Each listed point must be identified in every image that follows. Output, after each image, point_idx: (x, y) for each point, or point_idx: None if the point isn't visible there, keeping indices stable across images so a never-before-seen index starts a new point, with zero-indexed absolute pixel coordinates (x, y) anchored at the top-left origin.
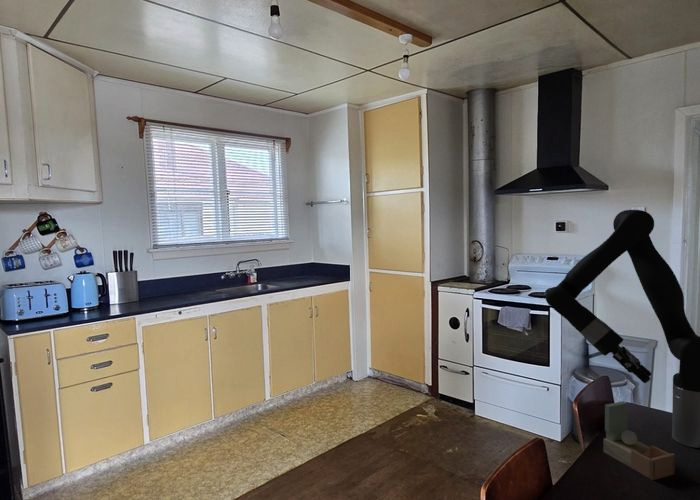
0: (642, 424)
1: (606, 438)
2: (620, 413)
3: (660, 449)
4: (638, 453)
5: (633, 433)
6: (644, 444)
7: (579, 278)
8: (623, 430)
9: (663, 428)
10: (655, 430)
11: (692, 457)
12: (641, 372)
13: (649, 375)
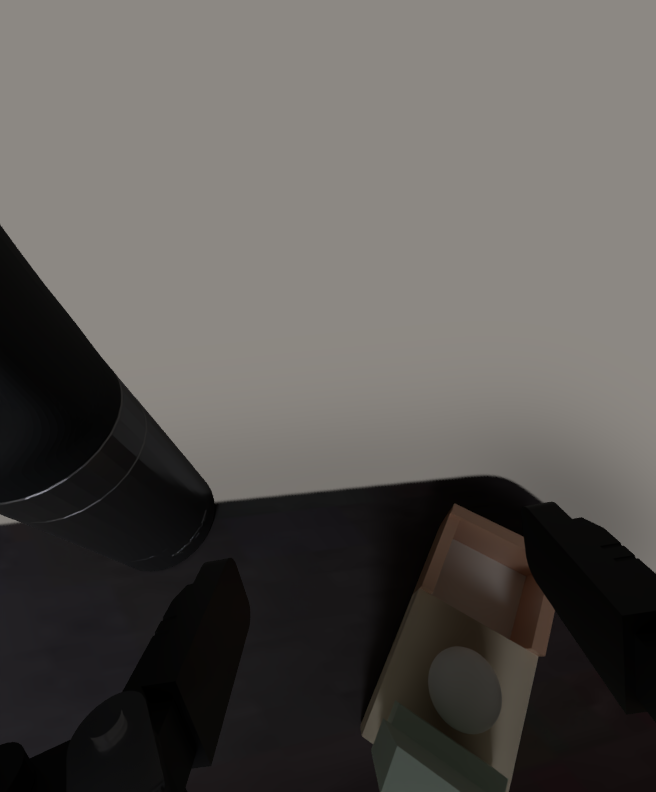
0: (73, 699)
1: None
2: (450, 777)
3: (437, 554)
4: (545, 621)
5: (469, 665)
6: (407, 623)
7: None
8: (422, 733)
9: (87, 610)
10: (119, 635)
11: (285, 499)
12: (639, 580)
13: (236, 579)
